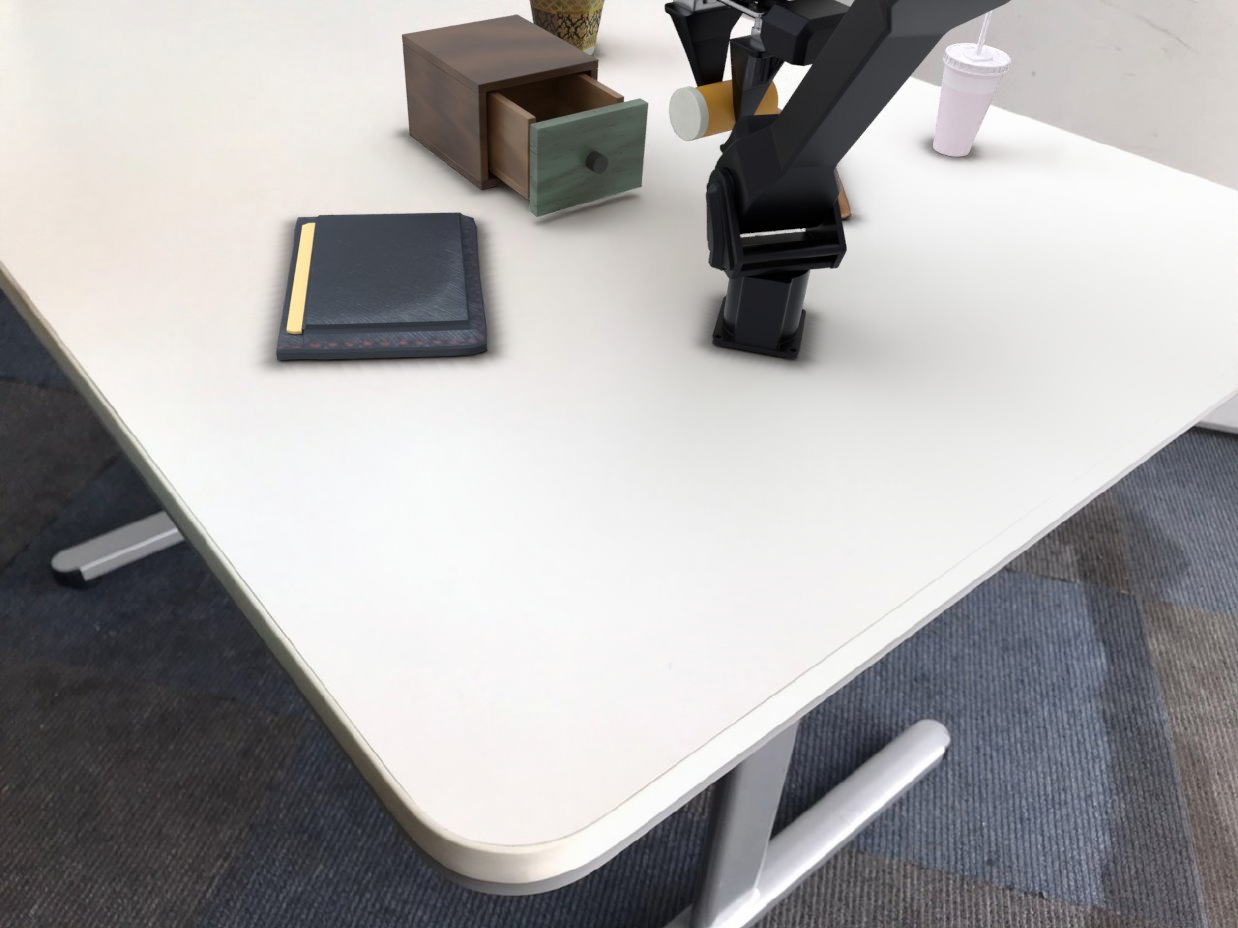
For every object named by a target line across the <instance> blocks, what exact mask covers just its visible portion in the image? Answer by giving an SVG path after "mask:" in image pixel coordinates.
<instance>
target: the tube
mask: <svg viewBox="0 0 1238 928" xmlns="http://www.w3.org/2000/svg"><path fill="white" fill-rule="evenodd" d="M777 108H779V93H778V89H777V85H776V84H775V82H774V80H773V81H772V83H771V84H770V86H769V88H768V90H767V92H766V94H765V96H764V97H763V99H762V101H761V103H760V105H759V107H758V109H757V110H756V112H755V114H754V115H766V114H775V113H776V111H777ZM668 117H669V121H670V124H671V127H672V129H673V132H674V133H675V134H676V136H677V137H678V138H679V139H681V140H682V141H685V142H693V141H696V140H699V139H703V138H707V137H711V136H715V135H720V134H723V133H727V132H731V131H732V129H733V126H734V124H735V123H736V120H735V113H734V108H733V91H732V78H731V79H728V80H723V81H722V82H718V83H713V84H709V85H704V86H700V87H697V86H695V87H694V86H689V85H688V86H684V87H683V86H682V87H680V88H677V89H676V90H674V92H673V93H672V95H671V96H670V100H669V103H668Z"/></svg>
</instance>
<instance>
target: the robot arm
mask: <svg viewBox="0 0 1238 928" xmlns="http://www.w3.org/2000/svg"><path fill="white" fill-rule="evenodd" d="M1011 1H1012V0H853V2H852V3H851V5H847V4H845V3H842V2H840V1H838V0H672V1H670V2H666V3H664V12H665V13H666V14H667V15H669V17H670V18H671V21H672V24H673V26H674V29H675V31H676V33H677V35H678V37H679V38H678V39H679V41H680V43H681V45H682V48H683V50H684V53H685V55H686V58H687V62H688V64H689V67H690V70H691V73H692V75H693V79H694V82H695V85H696V87H700V86H704V85H709V84H713V83H718V82H722V81H724V77H725V76H724V75H725V71H726V64H727V58H728V52H729V56H730V57H729V58H730V72H731V79H732V91H733V108H734V113H735V120H736V123H735V124H734V126H733V129H732V130H731V131H730V134H729V135H728V138H727V140H726V141H725V142H723V143H721V144H719V151H720V152H721V155H720V156H719V158H717V160H716V164H715V166H714V169H712V171H711V172H710V174H709V176H708V182H707V183H706V192H705V201H706V203H705V204H706V241H707V249H708V250H709V255H708V260H707V261H708V264H709V266H710V268H713V269H716V270H719V271H723V273H724V274H725V275H726V277H727V278H728V284H727V291H726V295H725V296H724V297H723V299H722V302H721V305H720V309H719V312H718V315H717V318H716V322H715V326H714V329H713V332H712V336H711V342H712V344H714V345H715V346H721V347H725V348H732V349H735V350H742V351H748V352H754V353H757V354H758V353H759V354H764V355H769V356H770V355H771V356H774V357H775V356H776V357H781V358H787V359H793V360H794V359H797V358H799V355H800V351H801V344H802V338H803V334H804V333H803V332H804V326H805V323H806V322H805V321H806V317H807V316H806V315H807V310H806V309H805V308H803V307H804V301H805V298H806V293H807V288H808V284H809V283H808V282H809V278H810V275H811V270H821V269H830V270H833V269H838V268H839V267H840V265H841V264H842V261H843V260H844V258H845V255H846V253H847V250H848V247H847V241H846V235H845V230H844V224H843V219H842V217H841V211H840V206H839V200H838V196H839V194H840V193H841V188H840V184H839V179H838V175H837V172H838V170H837V171H836V169H837V166H839V165H838V164H839V163H840V162H841V161H842V160H843V159H844V157H845V156H846V155H847V154H848V152H849V151H850V150H851V149H852V147H854V145H855V144H856V142H857V141H858V140H859V139H860V138H861V137H862V135H863V134H864V133H865V132H866V130H867V129H868V128H869V127H870V126H871V125H872V123H873V122H874V121H875V120H876V119H877V118H878V116H879V115H880V114H881V112H882V111H883V110H884V109H885V108H886V106H887V105H888V104H889V103H890V101H891V100H892V99H893V98H894V96H896V94H897V93H898V92H899V91H900V89H901V88H902V87H903V86H904V84H906V82H907V81H908V79H909V78H910V77H911V76H912V75H913V74H914V72H915V71H916V70H917V69H918V68H919V66H921V64H922V63H923V62H924V60H925V59H926V58H927V57H928V55H930V53H931V52H932V51H933V50H934V49H935V47H936V46H937V45H938V43H939V42H940V41H941V40H942V39H943V37H944V36H945V35H946V34H947V33H948V32H950V31H951V30H953V29H956V28H957V27H960V26H962V25H964V24H966V23H968V22H970V21H972V20H974V19H977V18H978V17H981V16H983V15H986V13H987V12H990V11H992V10H993V11H994V10H997V9H999V8H1000V7H1002V6H1005V5H1007V4H1008V3H1009V2H1011ZM743 15H745V16H747V17H749V18H752V19H754V25H753V26H751V30H750V34H748V35H742V36H738V37H734V38H731V35H732V31H733V29H734V28H735V26H736V25H737V23H738V22H739V20H740V18H741V17H742V16H743ZM785 63H787V64H789V65H792V66H798V67H806V66H810V67H809V69H808V70H807V71H806V73H805V75H804V76H803V78H802V79H801V81H800V82H799V83H798V85H797V87H796V88H795V89H794V91H793V93H792V94H791V96H790V97H789V99H788V100H787V102H786V103H785V105H784V106H783V108H782V109H781V110H782V111H781V113H780V114H766V115H754V114H755V112H756V110H757V109H758V107H759V105H760V103H761V101H762V99H763V97H764V96H765V94H766V92H767V90H768V88H769V86H770V84H771V83H772V81H773V82H774V79H775V77H776V76H777V74H778V73H779V71H780V70H781V69H782V67H783V66H784V64H785ZM802 229H804V231H803V230H802ZM791 230H802V231H793V232H783V231H791ZM780 231H782V233H773V234H761V233H770V232H780ZM748 234H749V235H750V234H754V235H751V236H741V235H748ZM755 234H756V235H755Z"/></svg>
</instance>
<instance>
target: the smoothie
mask: <svg viewBox="0 0 1238 928" xmlns="http://www.w3.org/2000/svg"><path fill="white" fill-rule="evenodd" d="M993 13H994V10H992V11H990V12H987V13H985V16H984V20H983V23H982V26H981V30H980V34H979V37H978V41H977V43H973V42H958V43H953V44H950V45H948V46H947V47H946V48H945V50H944V54H943V56H942V62H943V63H944V68H943V73H942V75H943V76H942V81H941V88H940V95H939V101H938V107H937V116H936V121H935V127H934V134H933V135H934V136H933V143H932V148H933V150H935V151H936V152H937V153H939V154H941V155H944V156H949V157H953V158H954V157H956V158H958V157H959V158H961V157H965V156H968V155H969V153H970V151H971V149H972V147H973V144H974V142H975V140H976V138H977V136H978V133H979V131H980V129H981V126H982V124H983V122H984V119H985V117H986V115H987V113H988V110H989V109H990V106H991V103H992V101H993V99H994V97H995V94H996V92H997V91H998V89H999V87H1000V83H1001V82H1002V78H1003V77H1004V75H1005V74H1007V73H1008V72H1009V70H1010V65H1011V62H1012V59H1011V56H1010V55H1009V54H1007V53H1006V52H1005V51H1003V50H1001V49H999V48H996V47H993V46H990V45H987V44H985V40H986V38H987V34H988V30H989V26H990V24H991V19H992V17H993Z"/></svg>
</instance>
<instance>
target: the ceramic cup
mask: <svg viewBox="0 0 1238 928" xmlns="http://www.w3.org/2000/svg"><path fill="white" fill-rule="evenodd" d="M605 1H606V0H529V4H530V10H531V17H532V23H534V24H535V25H537V26H539V27H541V28H542V29H544V30H546V31H548V32H550V33H551V34H553V35H555V36H557V37H559V38H560V39H562V40H564V41H566V42H568V43H569V44H571V45H573V46H575V47H576V48H578V49H580V50H582V51H584V52H585V53H587V54H589V55H591V56H593V54H594V53H595V47H596V44H597V38H598V33H599V30H600V25H601V19H602V16H603V15H602V14H603V9H604V5H605Z"/></svg>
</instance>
